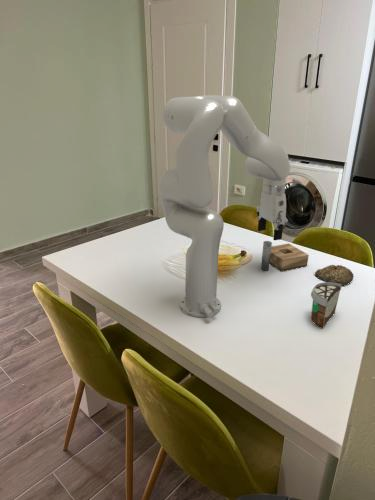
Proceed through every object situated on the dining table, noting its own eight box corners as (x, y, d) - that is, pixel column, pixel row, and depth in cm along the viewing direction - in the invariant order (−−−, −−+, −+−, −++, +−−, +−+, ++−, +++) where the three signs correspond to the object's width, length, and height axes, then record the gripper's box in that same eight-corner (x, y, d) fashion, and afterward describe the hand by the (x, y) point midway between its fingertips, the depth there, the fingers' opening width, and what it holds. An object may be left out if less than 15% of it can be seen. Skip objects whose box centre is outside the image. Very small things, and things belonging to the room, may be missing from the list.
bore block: (306, 266, 143) (308, 254, 141) (281, 271, 138) (282, 259, 136) (287, 254, 153) (288, 243, 151) (262, 259, 148) (263, 247, 146)
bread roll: (341, 289, 127) (344, 276, 125) (310, 276, 136) (312, 264, 134) (360, 278, 135) (362, 266, 133) (329, 267, 143) (331, 255, 141)
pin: (270, 270, 139) (273, 243, 135) (263, 271, 138) (266, 244, 134) (265, 267, 142) (268, 240, 137) (259, 268, 141) (261, 241, 136)
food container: (316, 305, 117) (321, 277, 113) (336, 312, 114) (342, 283, 110) (300, 322, 108) (304, 292, 104) (320, 330, 105) (326, 300, 101)
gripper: (298, 193, 122) (292, 241, 129) (268, 181, 136) (264, 225, 143) (280, 196, 119) (275, 245, 126) (250, 184, 134) (247, 228, 141)
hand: (269, 234), depth 135 cm, fingers open, 9 cm apart
